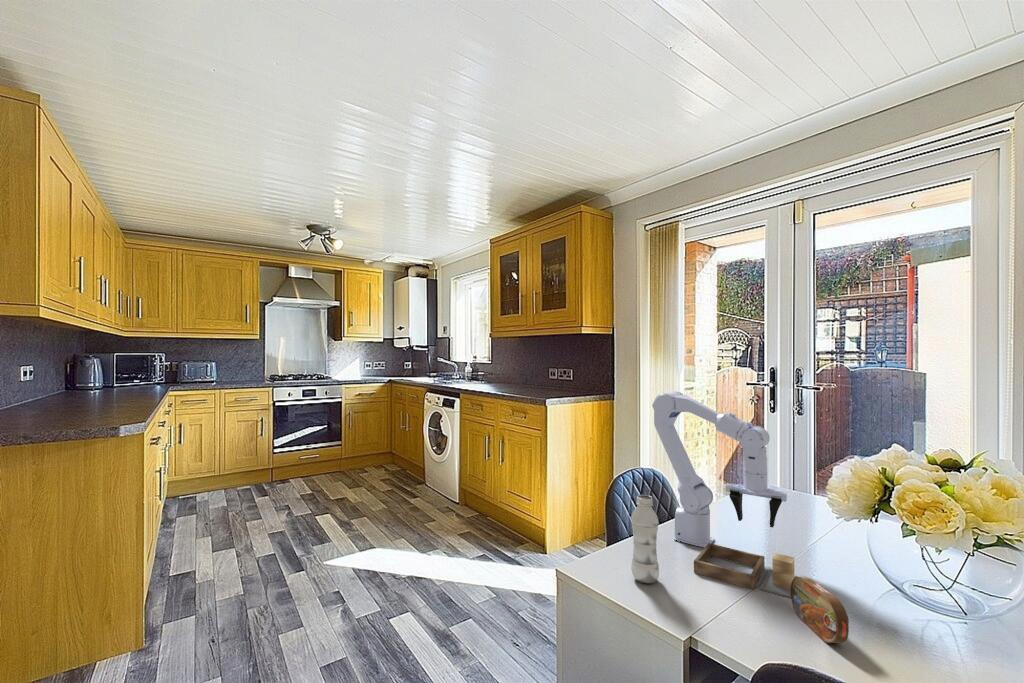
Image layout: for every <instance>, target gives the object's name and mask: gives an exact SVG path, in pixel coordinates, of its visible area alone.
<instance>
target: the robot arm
mask: <svg viewBox="0 0 1024 683" xmlns="http://www.w3.org/2000/svg"><path fill="white" fill-rule="evenodd" d="M651 407H652V409H653V410H654V411H653V412H654V413H653V414H654V416H653V424H654V425H653V426H654V428H655V430H656V432H657V434H658V437H659V439H660V442H661V443H662V447H663V448H664V450H665V453H666V455H667V457H668V458H669V461H670V463H671V467H672V468H673V470H674V473H675V475H676V477H677V480H678V485H677V491H678V494H679V503H680V506H677V508H676V510H675V513H674V538H673V540H674V541H676V540H677V542H680V541H681V543H684V544H687V545H688V544H689V545H693V546H696V547H701V548H703V549H704V548H705V547H706V546H707V545H708V543H710V544H713V543H714V541H715V537H711V510H710V505H711V504H712V502H713V501H714V493H713V492H712V490H711V488H709V487H708V485H707V484H706V483H705V480H704V479H703V478H702V477H700V476H699V475H698V474H697V473H696V470H695V469H694V466H693V464H692V462H691V459H690V458H689V455H688V453H687V451H686V449H685V447H684V445H683V442H682V440H681V439H680V436H679V433H678V431H677V429H676V427H675V422H677V418H678V416H679V415H680V414H681V413H690V414H692V415H695V416H697V417H699V418H701V419H703V420H705V421H708V422H709V423H711V424H714V427H715V428H716V431H718V432H720V433H721V434H724V435H726V436H727V437H729V438H731V439H732V440H735V441H737V442H739V443H740V445H741V446H742V448H743V450H742V451H743V455H742V457H743V459H742V460H743V474H742V475H743V484H741V483H740V484H738V483H728V482H727V483H726V484H725V492H727V493H729V498H730V501H731V502H732V505H733V506H734V509H735V512H736V515H737V521H738V522H741V521H743V518H744V514H743V495H748V496H754V497H759V498H767V499H770V500H769V513H770V515H769V527H770V528H774V526H775V523H776V522H775V521H776V517H777V514H778V511H779V509H780V507H781V504H783V503H782V502H784V503H785V502H787V501H788V493H787V492H785V491H781V490H776V489H771V488H768V454H767V451H768V450H767V445H768V444H769V442H770V434H769V432H768V431H767V430H766V429H765V428H763V427H762V426H760V425H753V422H751V421H745V420H742V419H741V418H738V417H737V415H736V413H733V412H730V413H728V412H722V413H719V412H717V411H716V410H713V409H712V408H710V407H708V406H707V405H705V404H703V403H702V402H699V401H697V400H696V399H694V398H693V397H691V396H690V395H688V394H683V393H682V392H680V391H673V392H666V393H665V392H663V393H662V392H661V393H659V394H657V395H656V397H655V398H654V401H653V402H652V405H651Z"/></svg>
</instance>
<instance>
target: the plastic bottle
mask: <svg viewBox="0 0 1024 683" xmlns="http://www.w3.org/2000/svg"><path fill="white" fill-rule="evenodd" d="M635 502H636V503H635V505H637V506H636V507H635V508H634V510H633V511H632V513H631V516H630V522H631V528H632V535H633V536H632V538H633V549H632V551H633V553H632V560H631V565H630V566H631V568H630V569H631V574H632V576H633V578H634V579H635V580H636V581H638V582H640V583H643V584H654V583H656V582H657V580H659V577H660V566H659V565H660V564H659V562H658V553H657V540H658V539H657V536H658V528H659V517H658V515H657V512H656V511H655V510H654V509H653V506H654V503H653V497H652V496H651V495H647V494H639V495H637V496H636V501H635Z"/></svg>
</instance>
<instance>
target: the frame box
mask: <svg viewBox="0 0 1024 683" xmlns="http://www.w3.org/2000/svg"><path fill="white" fill-rule="evenodd" d="M710 556H711V557H713V556H714V558H718V559H721V560H726V561H730V562H733V563H737V564H742V565H744V566H745V565H746V566H750V567H752V568H753V569H752V572H751V573H747V572H743V571H740V570H736V569H732V568H728V567H725V566H720V565H716V564H714V563H710V562H708V561H709V559H710V558H711V557H710ZM707 560H708V561H707ZM765 564H766V563H765V556H764V555H759V554H755V553H752V552H748V551H747V552H746V551H744V550H738V549H736V548H735V549H734V548H731V547H727V546H723V545H722V546H721V545H718V544H714V543H711V544H710V543H708V545H707V546H706V547H705V548H704V547H703V549H702V550H701V552H700V553H699V554H698V555H697V557H695V559H693V573H694V572H695V573H694V574H697V573H698V574H697V575H700V574H702V576H705V577H707V576H708V578H711V579H715V580H718V581H721V582H725V583H728V584H732V585H736V586H739V587H744V588H747V589H751V590H753V591H755V589H756V587H757V585H758V583H759V580H760V578H761V577H762V574H763V572H764V571H765Z"/></svg>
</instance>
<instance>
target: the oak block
mask: <svg viewBox="0 0 1024 683" xmlns="http://www.w3.org/2000/svg"><path fill="white" fill-rule="evenodd" d="M772 570H773V585H776V586H780V587H784V588H788V589H790V587H791V583H792V580H793V579H794V578H795V577H794V576H795V557H794V556H789V555H785V554H781V553H777V552H776V553H774V555H773V556H772Z"/></svg>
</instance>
